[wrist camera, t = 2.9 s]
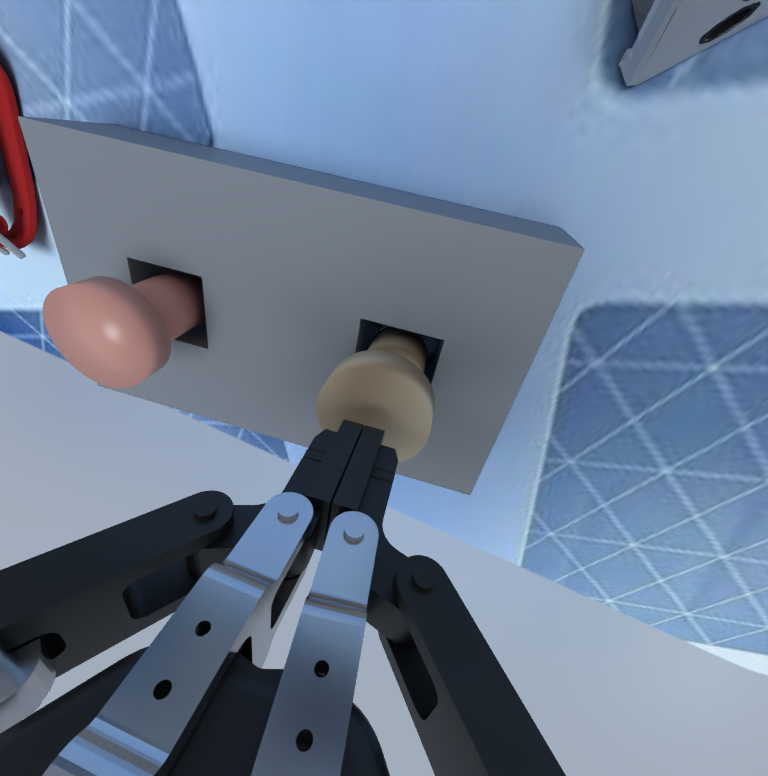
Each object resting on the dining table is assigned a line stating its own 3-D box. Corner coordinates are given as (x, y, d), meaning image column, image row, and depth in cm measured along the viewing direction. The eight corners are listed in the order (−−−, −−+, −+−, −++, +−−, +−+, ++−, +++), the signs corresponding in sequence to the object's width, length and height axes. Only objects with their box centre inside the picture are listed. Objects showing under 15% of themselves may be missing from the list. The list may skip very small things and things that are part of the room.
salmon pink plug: (224, 264, 19) (134, 303, 14) (229, 343, 22) (154, 400, 17) (142, 243, 19) (26, 273, 14) (156, 324, 22) (62, 373, 17)
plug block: (560, 227, 18) (584, 249, 14) (471, 440, 26) (470, 495, 22) (113, 124, 20) (17, 116, 16) (155, 351, 28) (98, 385, 24)
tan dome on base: (454, 323, 18) (445, 387, 13) (431, 399, 21) (415, 477, 16) (363, 300, 18) (321, 353, 13) (351, 377, 21) (311, 446, 16)
